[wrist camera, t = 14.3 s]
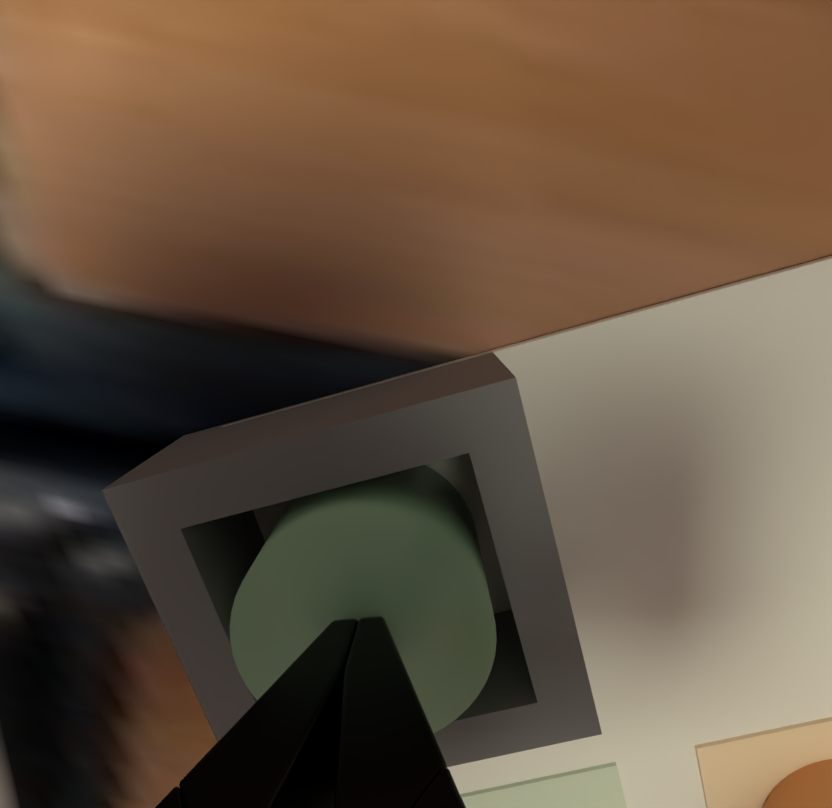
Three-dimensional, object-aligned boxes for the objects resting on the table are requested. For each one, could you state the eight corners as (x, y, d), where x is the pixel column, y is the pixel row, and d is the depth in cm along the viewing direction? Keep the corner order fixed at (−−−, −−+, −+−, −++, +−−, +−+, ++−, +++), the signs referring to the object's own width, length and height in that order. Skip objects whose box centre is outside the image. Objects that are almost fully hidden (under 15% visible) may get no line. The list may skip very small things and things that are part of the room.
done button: (251, 483, 11) (189, 557, 8) (448, 430, 11) (458, 488, 8) (315, 651, 12) (281, 771, 9) (498, 608, 12) (524, 718, 9)
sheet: (183, 435, 11) (101, 490, 8) (908, 234, 10) (1103, 217, 7) (398, 960, 15) (393, 1122, 12) (941, 860, 14) (1076, 1013, 11)
